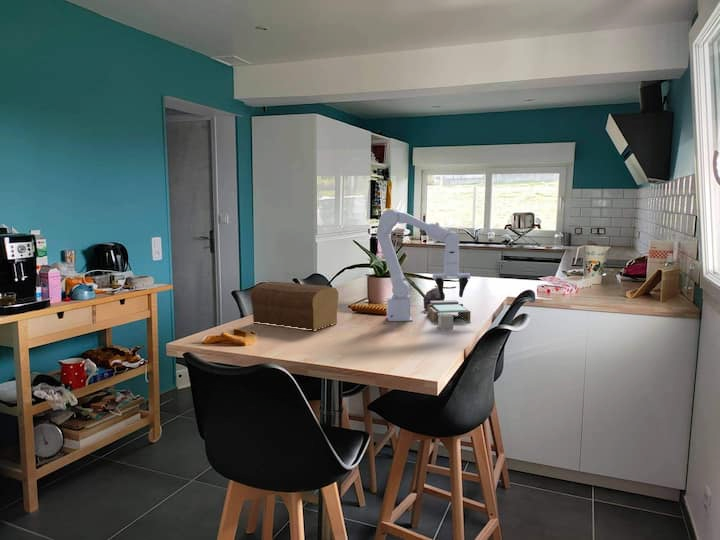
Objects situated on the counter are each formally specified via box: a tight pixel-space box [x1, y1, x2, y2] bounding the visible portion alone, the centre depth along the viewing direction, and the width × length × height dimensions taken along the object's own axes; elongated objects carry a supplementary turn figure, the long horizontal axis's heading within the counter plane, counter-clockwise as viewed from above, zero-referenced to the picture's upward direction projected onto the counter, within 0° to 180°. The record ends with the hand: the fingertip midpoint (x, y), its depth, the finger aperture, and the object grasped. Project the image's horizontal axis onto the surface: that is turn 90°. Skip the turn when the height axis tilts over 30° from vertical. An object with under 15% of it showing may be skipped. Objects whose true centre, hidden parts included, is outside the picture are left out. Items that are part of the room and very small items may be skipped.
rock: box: [422, 287, 446, 311], centre depth 238 cm, size 12×9×10 cm
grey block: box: [437, 313, 454, 330], centre depth 201 cm, size 4×4×5 cm
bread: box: [250, 281, 339, 330], centre depth 210 cm, size 18×30×16 cm, turn 59°
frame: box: [426, 303, 472, 323], centre depth 218 cm, size 14×14×5 cm
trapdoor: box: [430, 299, 467, 314], centre depth 218 cm, size 17×11×2 cm, turn 5°
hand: (451, 297), depth 212 cm, fingers open, 7 cm apart
